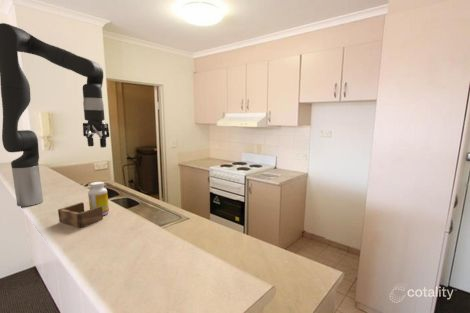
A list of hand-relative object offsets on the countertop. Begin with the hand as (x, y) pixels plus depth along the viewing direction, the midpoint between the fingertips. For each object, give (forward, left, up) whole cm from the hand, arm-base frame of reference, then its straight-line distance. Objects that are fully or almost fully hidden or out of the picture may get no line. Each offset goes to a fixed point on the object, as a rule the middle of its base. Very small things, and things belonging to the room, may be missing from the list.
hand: (97, 146), depth 107 cm
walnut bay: (+11, -16, -26) cm, 32 cm away
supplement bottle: (+11, -9, -26) cm, 30 cm away
